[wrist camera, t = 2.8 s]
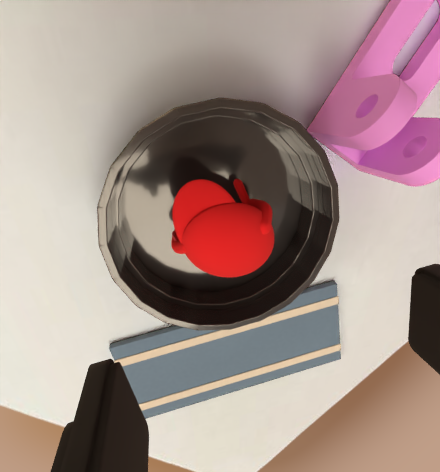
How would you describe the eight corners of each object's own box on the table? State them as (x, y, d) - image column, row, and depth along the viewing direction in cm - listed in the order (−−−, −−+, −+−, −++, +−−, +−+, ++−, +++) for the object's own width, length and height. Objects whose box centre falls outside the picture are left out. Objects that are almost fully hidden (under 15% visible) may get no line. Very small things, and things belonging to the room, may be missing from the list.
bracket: (359, 170, 24) (432, 192, 17) (305, 131, 22) (365, 140, 15) (480, 1, 20) (624, -48, 14) (430, -62, 19) (570, -152, 12)
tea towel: (333, 280, 27) (337, 284, 26) (337, 354, 31) (341, 359, 30) (110, 343, 25) (108, 349, 25) (142, 414, 29) (142, 421, 28)
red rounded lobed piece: (280, 210, 23) (317, 241, 18) (233, 269, 24) (253, 315, 19) (195, 145, 20) (208, 158, 15) (146, 216, 21) (141, 252, 16)
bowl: (300, 79, 20) (333, 72, 16) (316, 270, 26) (343, 297, 23) (74, 129, 19) (52, 134, 15) (145, 317, 25) (143, 355, 21)
